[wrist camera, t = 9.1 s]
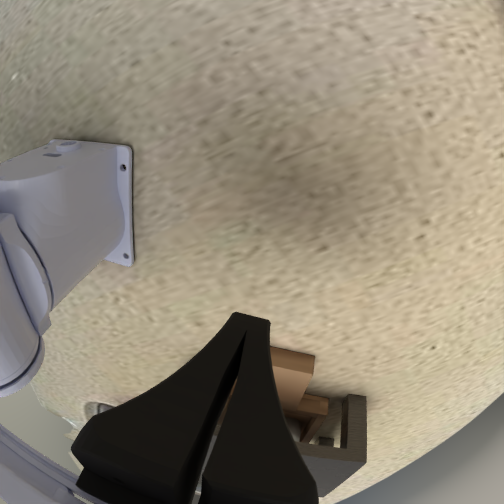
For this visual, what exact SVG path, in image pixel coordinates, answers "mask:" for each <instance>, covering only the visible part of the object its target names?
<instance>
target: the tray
mask: <svg viewBox="0 0 504 504" xmlns="http://www.w3.org/2000/svg"><path fill="white" fill-rule="evenodd" d="M270 352H271V360H272V367H273V373H274V378H275V383H276V388H277V392H278V396H279V399H280V403H281V406H282V409H283V413H284V415H285V418H286V421H287V424H288V427H289V429H290V431H291V434H292V436H293V439H294V441H297V442H303V443H309V442H310V440H311V439H312V438H313V436H314V435H315V433H316V432H317V430H318V429H319V427H320V426H321V424H322V423H323V421H324V420H325V418H326V417H327V415H328V402H329V398H324V397H318V396H313V395H308V394H304V392H305V390H306V388H307V386H308V384H309V382H310V380H311V378H312V376H313V370H314V359H315V356H312V355H307V354H302V353H298V352H293V351H289V350H284V349H280V348H275V347H271V346H270ZM236 382H237V379H236V381H235V383H234V386H233V388H232V390H231V393H230V395H229V397H228V400H227V402H226V404H225V407H224V409H223V411H222V414H221V416H220V418H219V421H218V424H222V422H223V419H224V417H225V414H226V411H227V408H228V405H229V402H230V399H231V396H232V394H233V391H234V388H235V385H236Z"/></svg>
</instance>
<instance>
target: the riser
mask: <svg viewBox="0 0 504 504" xmlns="http://www.w3.org/2000/svg"><path fill="white" fill-rule="evenodd" d="M221 425H222V424H218V423H217V426H216V428H215V431H214V434H213V437H212V440H211V443H210V446H209V449H208V453H207V456H206V459H205V462H204V465H203V468H202V471H201V473H202V474H203V472H204V469H205V467H206V464H207V462H208V459H209V457H210V454H211V452H212V449H213V446H214V444H215V441H216V438H217V436H218V433H219V430H220V428H221ZM295 443H296V446H297V448H298V450H299V452H300V454H301V456H302V458H303V460H304V462H305V464H306V466H307V467H308V469H309V471H310V473H311V474H312V476H313V478H314V479H315V481H316V485H317V491H318V497H324V496H326V495H327V494H328V493H330V492H331V491H332V490H334V489H335V488H336V487H338V486H339V485H340V484H341V483H343V482H344V481H345V480H346V479H348V478H349V477H350V476H351V475H353V474H354V473H355V472H356V471H357V470H359V469H360V468H361V467H362V466H363V465H364V464H366V461H367V410H366V397H365V396H359V395H352V394H348V396H347V397H346V399H345V400H344V402H343V404H342V421H341V440H340V448H336V447H333V446H334V439H332V438H325V437H319V438H318V439H317V441H316V442H315V444H309V443H303V442H297V441H295Z"/></svg>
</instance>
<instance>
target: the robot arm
mask: <svg viewBox="0 0 504 504" xmlns="http://www.w3.org/2000/svg"><path fill="white" fill-rule="evenodd" d="M123 164H124V165H125V166H126V170H125V169H124V168H123ZM126 254H128V256H127V255H126ZM103 259H104V260H107V261H110V262H113V263H117V264H120V265H124V266H127V267H130V266H131V265H132V264H133V263H134V253H133V231H132V150H131V148H130V147H129V146H127V145H118V144H109V143H99V142H87V141H77V140H61V139H53V140H51V141H50V142H49V144H46V145H43V146H41V147H38V148H36V149H33V150H31V151H28V152H26V153H23V154H21V155H18V156H16V157H13V158H11V159H9V160H6V161H4V162H2V163H0V397H5V396H8V395H10V394H13V393H15V392H17V391H18V390H20V389H21V388H23V387H24V386H26V385H27V384H28V383H29V382H30V381H31V380H32V378H33V377H34V376H35V375H36V373H37V372H38V370H39V369H40V367H41V364H42V362H43V359H44V355H45V345H44V341H43V338H42V335H43V334H44V333H45V332H46V330H47V329H48V328H49V327H50V326H51V325H52V324H51V321H50V317H49V313H50V312H51V311H52V310H53V309H54V308H55V307H56V306H57V305H58V304H59V303H60V302H61V300H62V299H63V298H64V297H65V296H66V295H67V294H68V293H69V292H70V291H71V290H72V289H73V288H74V287H75V286H76V285H77V284H78V283H79V282H80V281H81V280H82V279H84V278H85V277H86V276H87V275H88V274H89V273H90V272H91V271H92V270H93V269H94V268H95V267H96V266H97V265H98V264H99V263H100V262H101V261H102V260H103ZM270 324H271V323H270V321H269V320H267V319H262V318H258V317H254V316H250V315H246V314H242V313H239V312H234V313H232V315H231V316H230V318H229V319H228V321H227V322H226V323H225V325H224V326H223V327H222V328H221V329H220V331H219V332H218V333H217V334H216V335H215V336H214V337H213V338H212V339H211V341H210V342H209V343H208V344H207V345H206V346H205V347H204V348H203V349H202V350H201V351H200V352H198V353H197V354H196V355H195V356H194V357H193V358H192V359H191V360H190V361H189V362H187V363H186V364H185V365H184V366H183V367H181V368H180V369H179V370H177V371H176V372H175V373H173V374H172V375H171V376H169V377H168V378H167V379H165V380H164V381H162V382H161V383H159V384H158V385H156V386H155V387H153V388H151V389H150V390H148V391H146V392H145V393H143V394H141V395H139V396H137V397H135V398H133V399H131V400H129V401H127V402H125V403H124V404H121V405H119V406H117V407H114V408H112V409H110V410H107V411H105V412H102V413H100V414H97V415H94V416H93V417H92V418H91V419H90V420H89V421H88V422H87V423H86V425H85V426H84V427H83V428H82V430H81V431H80V433H79V434H78V436H77V438H76V439H75V441H74V443H73V445H72V446H71V451H72V453H73V455H74V456H75V457H76V458H77V460H78V461H79V462H80V463H81V464H82V466H83V467H84V469H83V471H82V473H81V474H80V476H78V475H76V474H74V473H72V472H70V471H69V470H67V469H65V468H64V467H62V466H60V465H59V464H57V463H56V462H54V461H52V460H51V459H49V458H47V457H46V456H44V455H43V454H41V453H40V452H38V451H37V450H35V449H34V448H32V447H31V446H29V445H28V444H27V443H25V442H24V441H22V440H21V439H20V438H18V437H17V436H15V435H14V434H13V433H11V432H10V431H9V430H7V429H6V428H5V427H4V426H2V425H1V424H0V497H1V498H2V499H3V500H4V501H5V502H6V503H8V504H86V503H84V502H82V501H80V500H79V499H77V498H76V497H74V494H73V493H75V494H77V495H79V496H80V497H82V498H84V499H86V500H88V501H90V502H92V503H94V504H191V503H192V500H193V497H194V494H195V490H196V487H197V484H198V481H199V478H200V474H201V471H202V468H203V465H204V462H205V459H206V456H207V453H208V449H209V446H210V443H211V440H212V437H213V434H214V431H215V428H216V426H217V423H218V421H219V418H220V416H221V414H222V411H223V409H224V407H225V404H226V402H227V400H228V397H229V395H230V393H231V390H232V388H233V386H234V383H235V381H236V379H237V382H236V385H235V388H234V391H233V394H232V396H231V399H230V402H229V405H228V408H227V411H226V414H225V417H224V419H223V422H222V425H221V428H220V430H219V433H218V436H217V438H216V441H215V444H214V446H213V449H212V452H211V454H210V457H209V459H208V462H207V464H206V467H205V469H204V472H203V474H202V489H201V496H200V499H199V502H198V504H319V499H318V491H317V485H316V481H315V479H314V478H313V476H312V474H311V473H310V471H309V469H308V467H307V466H306V464H305V462H304V460H303V458H302V456H301V454H300V452H299V450H298V448H297V446H296V443H295V441H294V439H293V436H292V434H291V431H290V429H289V427H288V424H287V421H286V418H285V415H284V413H283V409H282V406H281V403H280V399H279V396H278V392H277V388H276V383H275V378H274V373H273V367H272V360H271V352H270ZM237 376H238V377H237ZM71 491H72V492H71Z"/></svg>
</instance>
